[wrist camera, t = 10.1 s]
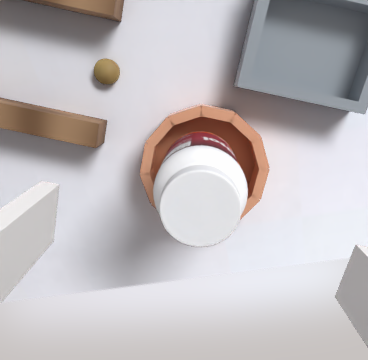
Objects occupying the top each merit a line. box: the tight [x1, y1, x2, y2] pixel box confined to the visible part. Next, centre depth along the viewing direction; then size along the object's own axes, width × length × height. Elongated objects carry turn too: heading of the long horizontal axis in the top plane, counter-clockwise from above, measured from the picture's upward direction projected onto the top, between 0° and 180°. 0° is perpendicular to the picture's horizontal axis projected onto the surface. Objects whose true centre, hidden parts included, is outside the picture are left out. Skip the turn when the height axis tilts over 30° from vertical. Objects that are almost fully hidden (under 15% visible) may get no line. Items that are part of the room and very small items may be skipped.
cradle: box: [0, 0, 124, 148], centre depth 27 cm, size 12×12×2 cm
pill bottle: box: [153, 131, 248, 247], centre depth 24 cm, size 6×6×11 cm
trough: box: [234, 0, 368, 114], centre depth 26 cm, size 10×8×3 cm
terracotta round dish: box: [140, 104, 269, 219], centre depth 29 cm, size 10×10×3 cm
